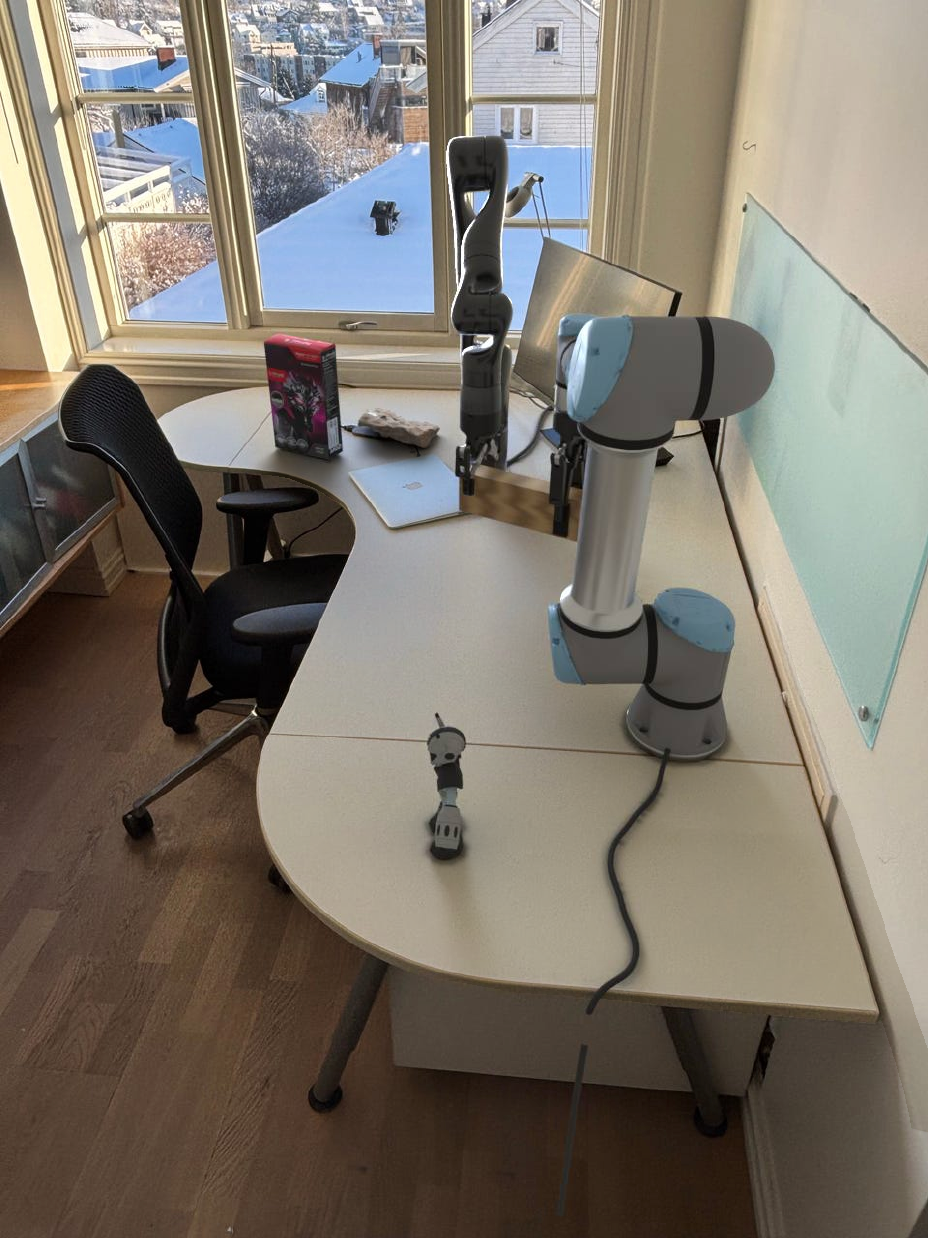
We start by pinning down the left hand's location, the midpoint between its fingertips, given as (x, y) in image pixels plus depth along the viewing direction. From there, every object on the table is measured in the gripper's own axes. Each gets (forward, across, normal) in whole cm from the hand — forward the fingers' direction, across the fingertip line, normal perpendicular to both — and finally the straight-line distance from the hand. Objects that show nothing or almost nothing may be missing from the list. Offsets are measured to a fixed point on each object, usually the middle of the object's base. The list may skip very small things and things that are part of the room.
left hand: (479, 485), depth 177 cm
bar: (+5, 0, +10) cm, 11 cm away
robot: (+16, +67, +33) cm, 76 cm away
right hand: (+4, 0, +19) cm, 19 cm away
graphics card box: (+17, -26, -63) cm, 70 cm away
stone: (+17, -44, -49) cm, 68 cm away
